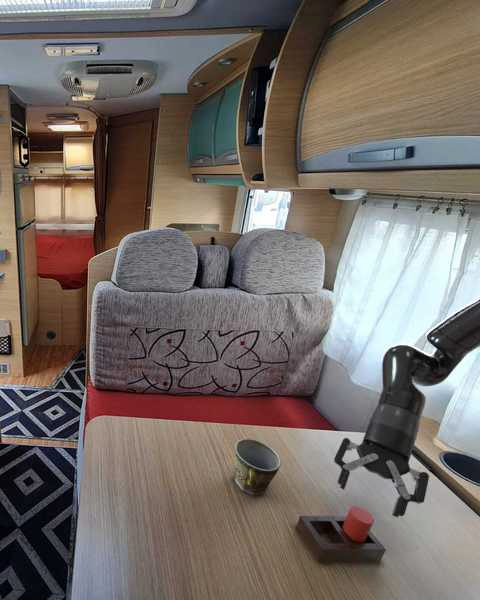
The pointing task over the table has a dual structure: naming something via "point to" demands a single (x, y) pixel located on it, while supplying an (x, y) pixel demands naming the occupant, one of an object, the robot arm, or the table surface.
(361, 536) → the red cylinder
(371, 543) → the two-compartment tray
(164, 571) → the table surface
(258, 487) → the ceramic cup
